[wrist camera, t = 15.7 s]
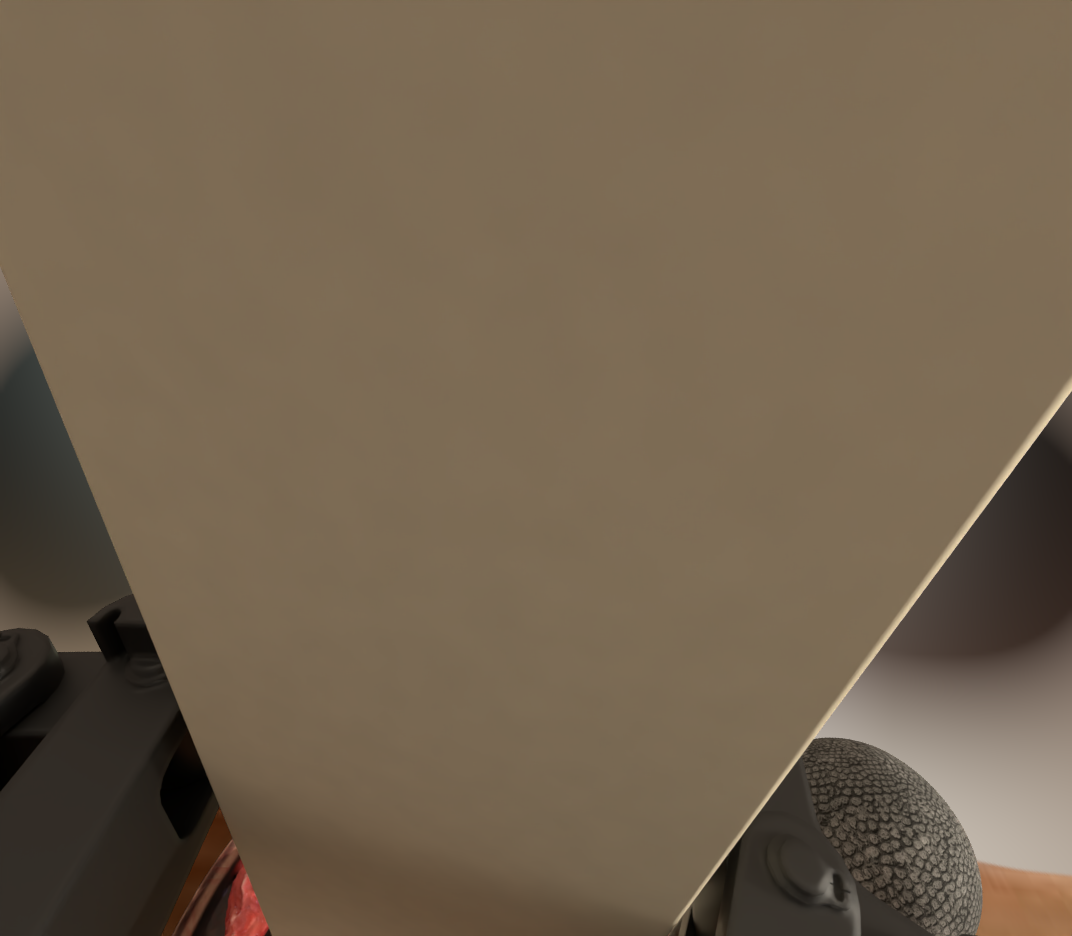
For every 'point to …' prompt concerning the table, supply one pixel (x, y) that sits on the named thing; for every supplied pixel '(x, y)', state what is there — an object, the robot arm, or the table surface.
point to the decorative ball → (895, 834)
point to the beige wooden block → (531, 400)
